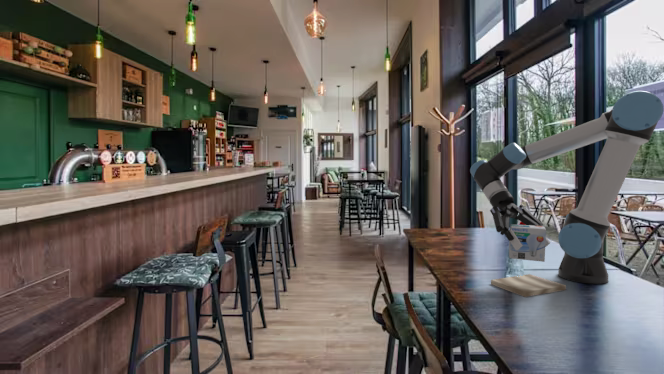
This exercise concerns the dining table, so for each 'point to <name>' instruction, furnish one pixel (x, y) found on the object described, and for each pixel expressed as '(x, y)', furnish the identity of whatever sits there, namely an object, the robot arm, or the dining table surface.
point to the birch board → (528, 285)
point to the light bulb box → (529, 242)
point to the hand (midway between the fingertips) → (533, 246)
